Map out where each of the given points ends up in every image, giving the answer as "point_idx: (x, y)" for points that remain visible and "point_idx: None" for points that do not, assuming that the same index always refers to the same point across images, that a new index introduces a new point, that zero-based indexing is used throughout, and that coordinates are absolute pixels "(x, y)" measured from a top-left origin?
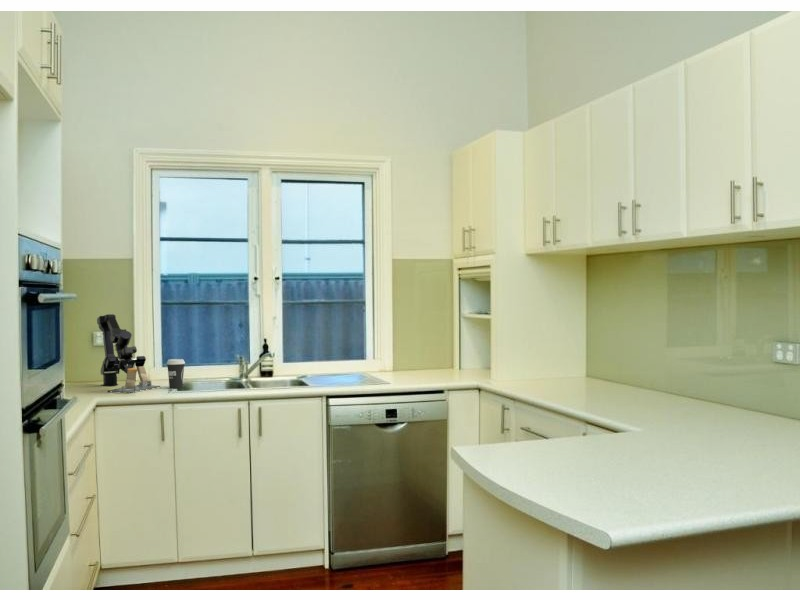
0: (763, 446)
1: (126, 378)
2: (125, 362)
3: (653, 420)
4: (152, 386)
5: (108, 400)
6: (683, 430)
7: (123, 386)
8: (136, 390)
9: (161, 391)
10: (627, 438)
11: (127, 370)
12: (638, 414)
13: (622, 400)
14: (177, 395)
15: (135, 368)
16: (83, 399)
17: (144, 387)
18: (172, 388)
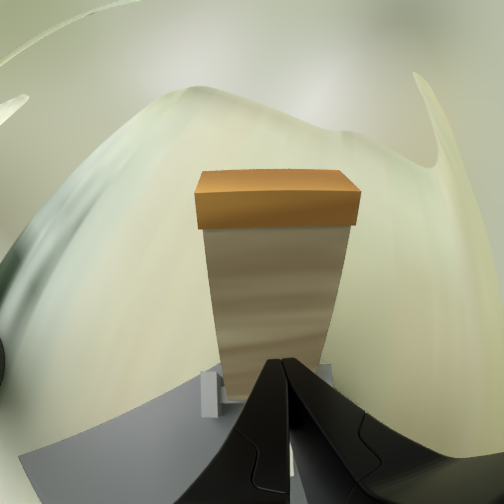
0: (99, 7)
1: (325, 330)
2: (462, 489)
3: (61, 25)
4: (56, 478)
5: (397, 157)
6: (80, 16)
7: (327, 379)
8: (212, 368)
9: (81, 279)
10: (107, 7)
11: (353, 219)
12: (46, 33)
13: (5, 58)
14: (120, 131)
15: (213, 185)
16: (488, 241)
17: (110, 483)
18: (2, 345)
